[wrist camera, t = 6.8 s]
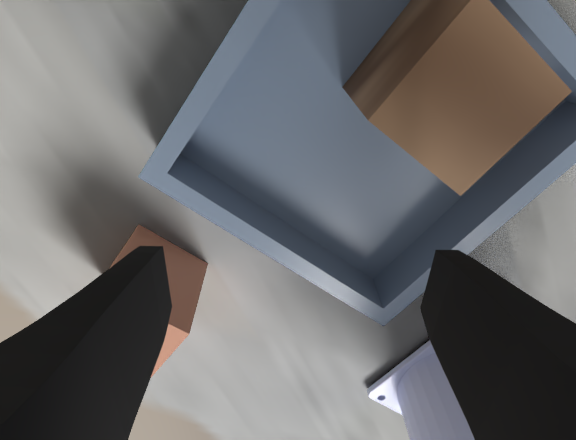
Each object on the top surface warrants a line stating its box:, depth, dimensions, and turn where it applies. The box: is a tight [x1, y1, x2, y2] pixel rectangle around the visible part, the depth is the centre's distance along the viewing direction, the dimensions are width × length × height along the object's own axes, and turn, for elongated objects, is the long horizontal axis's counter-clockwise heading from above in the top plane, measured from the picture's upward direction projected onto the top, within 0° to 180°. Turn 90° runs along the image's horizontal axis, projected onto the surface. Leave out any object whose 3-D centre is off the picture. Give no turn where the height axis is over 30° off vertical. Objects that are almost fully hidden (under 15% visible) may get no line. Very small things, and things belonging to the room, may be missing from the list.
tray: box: [138, 0, 576, 326], centre depth 16 cm, size 13×13×3 cm
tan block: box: [342, 0, 572, 196], centre depth 13 cm, size 4×4×5 cm
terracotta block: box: [109, 224, 208, 377], centre depth 18 cm, size 4×4×5 cm
